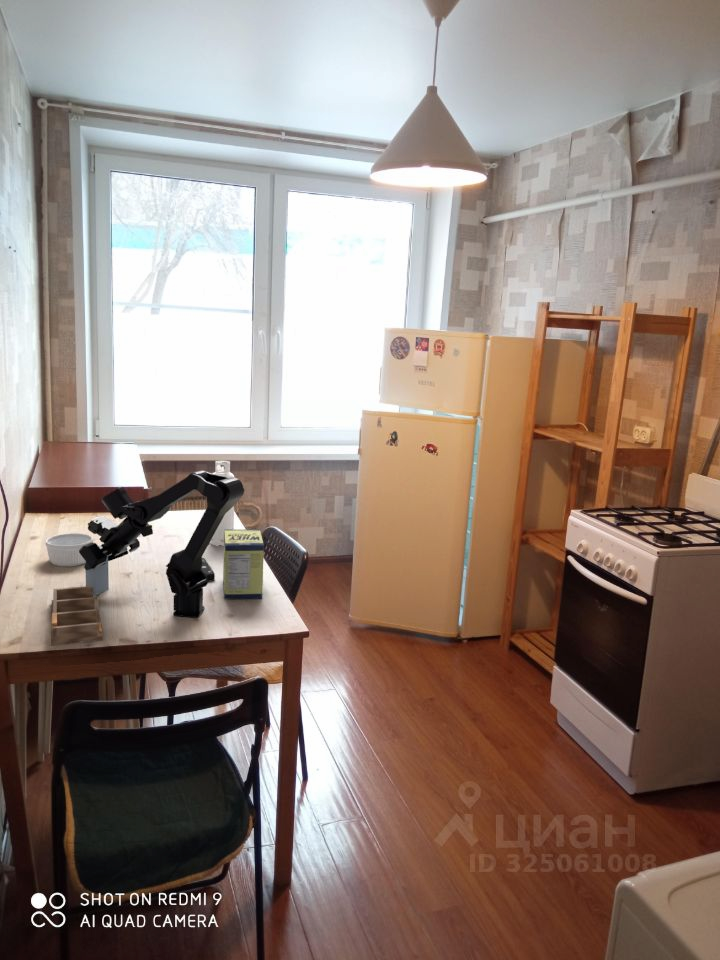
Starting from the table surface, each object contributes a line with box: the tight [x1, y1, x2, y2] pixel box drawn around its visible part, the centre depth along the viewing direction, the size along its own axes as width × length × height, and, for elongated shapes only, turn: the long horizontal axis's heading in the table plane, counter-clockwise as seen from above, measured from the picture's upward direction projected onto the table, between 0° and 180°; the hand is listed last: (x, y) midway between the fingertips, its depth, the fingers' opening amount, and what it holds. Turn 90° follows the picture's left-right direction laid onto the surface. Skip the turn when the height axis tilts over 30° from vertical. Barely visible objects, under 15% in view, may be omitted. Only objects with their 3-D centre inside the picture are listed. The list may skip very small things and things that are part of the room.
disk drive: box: [187, 557, 216, 583], centre depth 210 cm, size 10×3×15 cm
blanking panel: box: [84, 545, 110, 596], centre depth 191 cm, size 3×6×12 cm, turn 162°
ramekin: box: [45, 532, 94, 567], centre depth 214 cm, size 13×13×7 cm
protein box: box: [222, 529, 265, 600], centre depth 199 cm, size 10×16×16 cm
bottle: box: [210, 460, 235, 546], centre depth 238 cm, size 8×8×28 cm
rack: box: [50, 585, 103, 646], centre depth 173 cm, size 11×25×5 cm, turn 23°
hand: (92, 565), depth 191 cm, fingers closed on blanking panel, 5 cm apart
